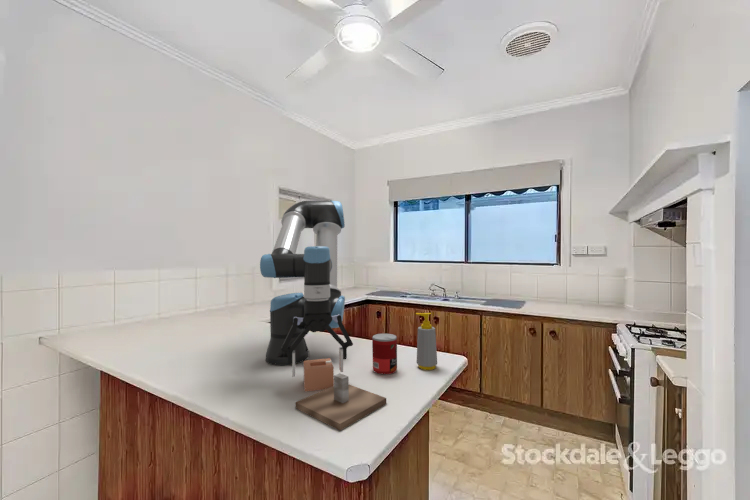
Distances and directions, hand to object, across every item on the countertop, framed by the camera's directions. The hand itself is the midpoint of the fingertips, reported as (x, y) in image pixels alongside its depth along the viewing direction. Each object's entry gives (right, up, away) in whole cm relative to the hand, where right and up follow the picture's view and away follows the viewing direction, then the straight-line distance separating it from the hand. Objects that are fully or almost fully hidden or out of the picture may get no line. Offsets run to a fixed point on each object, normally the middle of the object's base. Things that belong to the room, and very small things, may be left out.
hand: (317, 372), depth 95 cm
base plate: (+8, -3, -13) cm, 16 cm away
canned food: (+20, -4, +11) cm, 23 cm away
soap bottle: (+34, -3, +14) cm, 37 cm away
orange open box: (0, -4, 0) cm, 4 cm away
